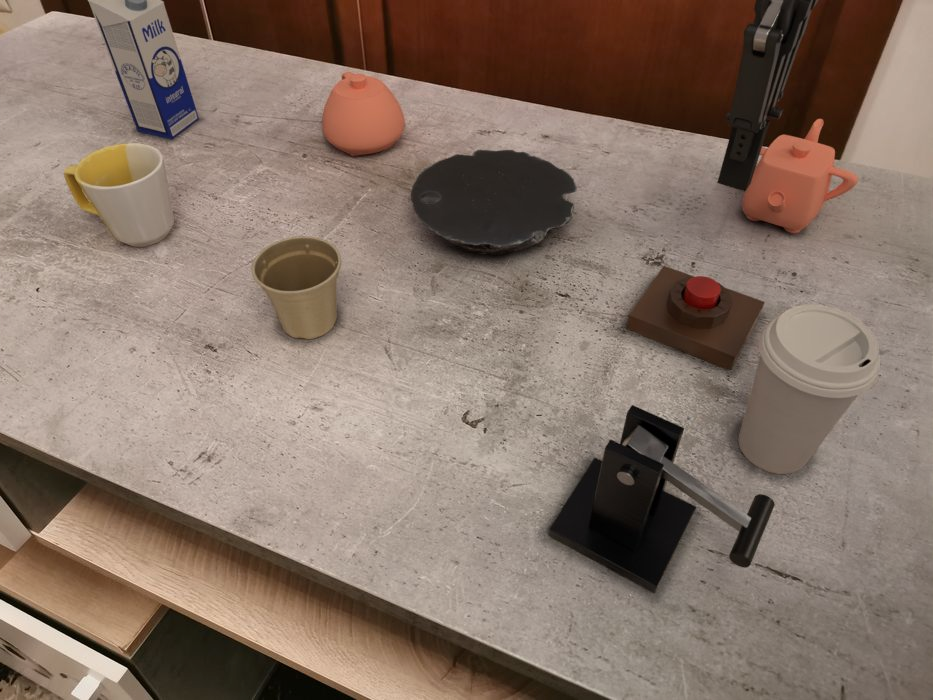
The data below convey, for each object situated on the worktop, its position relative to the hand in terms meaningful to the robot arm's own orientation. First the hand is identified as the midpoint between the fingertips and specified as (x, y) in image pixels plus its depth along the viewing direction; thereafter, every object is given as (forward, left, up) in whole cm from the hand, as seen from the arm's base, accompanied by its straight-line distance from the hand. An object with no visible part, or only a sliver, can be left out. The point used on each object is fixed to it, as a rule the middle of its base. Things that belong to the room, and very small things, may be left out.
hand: (733, 183), depth 69 cm
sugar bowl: (+57, -12, -19) cm, 61 cm away
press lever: (-8, +28, -10) cm, 31 cm away
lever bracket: (-4, +28, -18) cm, 34 cm away
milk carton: (+86, +1, -19) cm, 88 cm away
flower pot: (+37, +23, -19) cm, 47 cm away
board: (+29, -4, -19) cm, 35 cm away
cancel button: (0, 0, -15) cm, 15 cm away
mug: (+68, +22, -19) cm, 74 cm away
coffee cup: (-13, +12, -19) cm, 26 cm away
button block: (0, 0, -18) cm, 18 cm away
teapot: (-2, -26, -19) cm, 32 cm away
